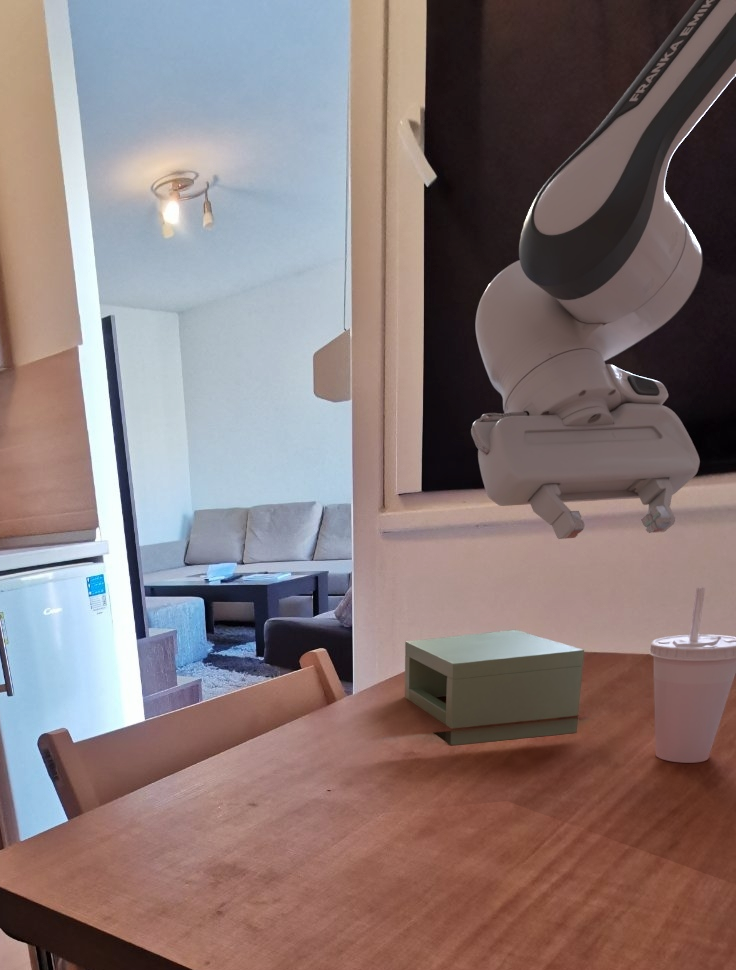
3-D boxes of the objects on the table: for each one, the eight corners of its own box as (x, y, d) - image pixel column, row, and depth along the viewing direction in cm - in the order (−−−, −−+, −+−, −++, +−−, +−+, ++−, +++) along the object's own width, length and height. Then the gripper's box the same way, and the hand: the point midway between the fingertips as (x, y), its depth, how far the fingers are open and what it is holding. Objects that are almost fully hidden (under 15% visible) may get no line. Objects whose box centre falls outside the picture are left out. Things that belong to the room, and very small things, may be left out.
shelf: (511, 700, 86) (515, 629, 83) (576, 733, 73) (584, 649, 70) (404, 711, 87) (405, 641, 84) (450, 745, 74) (453, 663, 71)
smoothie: (619, 754, 66) (637, 589, 61) (671, 740, 68) (694, 579, 63) (692, 773, 61) (719, 593, 56) (748, 757, 62) (779, 581, 58)
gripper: (485, 386, 68) (538, 512, 63) (678, 382, 71) (741, 500, 67) (448, 442, 74) (494, 560, 69) (629, 435, 77) (684, 547, 73)
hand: (617, 531), depth 68 cm, fingers open, 8 cm apart
